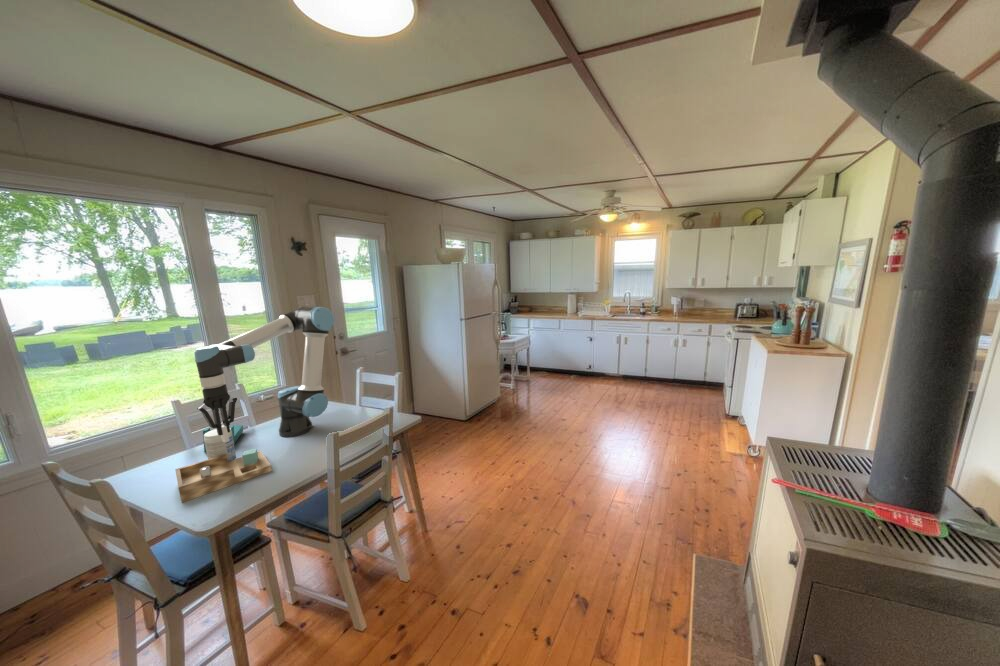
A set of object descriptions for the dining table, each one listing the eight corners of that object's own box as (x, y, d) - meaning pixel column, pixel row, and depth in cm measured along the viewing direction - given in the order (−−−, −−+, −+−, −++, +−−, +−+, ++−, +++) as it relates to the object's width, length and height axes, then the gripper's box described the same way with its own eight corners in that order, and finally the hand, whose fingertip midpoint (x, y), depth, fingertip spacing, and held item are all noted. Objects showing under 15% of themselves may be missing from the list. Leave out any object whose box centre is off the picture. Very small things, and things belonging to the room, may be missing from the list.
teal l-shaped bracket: (232, 449, 169) (231, 428, 168) (204, 452, 165) (202, 430, 164) (243, 434, 186) (242, 414, 184) (217, 436, 181) (216, 416, 180)
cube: (258, 458, 153) (256, 448, 152) (256, 462, 149) (255, 452, 148) (245, 460, 151) (244, 450, 150) (243, 465, 147) (242, 455, 146)
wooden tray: (261, 456, 160) (259, 443, 159) (271, 470, 147) (269, 457, 146) (178, 483, 140) (175, 469, 139) (181, 502, 128) (178, 487, 127)
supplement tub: (235, 464, 153) (230, 432, 151) (207, 472, 148) (201, 438, 146) (237, 455, 161) (232, 425, 159) (210, 462, 156) (204, 430, 154)
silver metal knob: (212, 479, 137) (209, 465, 136) (213, 482, 135) (210, 468, 134) (202, 483, 135) (199, 468, 134) (203, 486, 133) (200, 471, 132)
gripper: (228, 379, 147) (239, 432, 152) (189, 389, 137) (202, 446, 141) (237, 381, 144) (248, 436, 148) (197, 392, 133) (210, 450, 137)
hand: (225, 441), depth 145 cm, fingers closed
